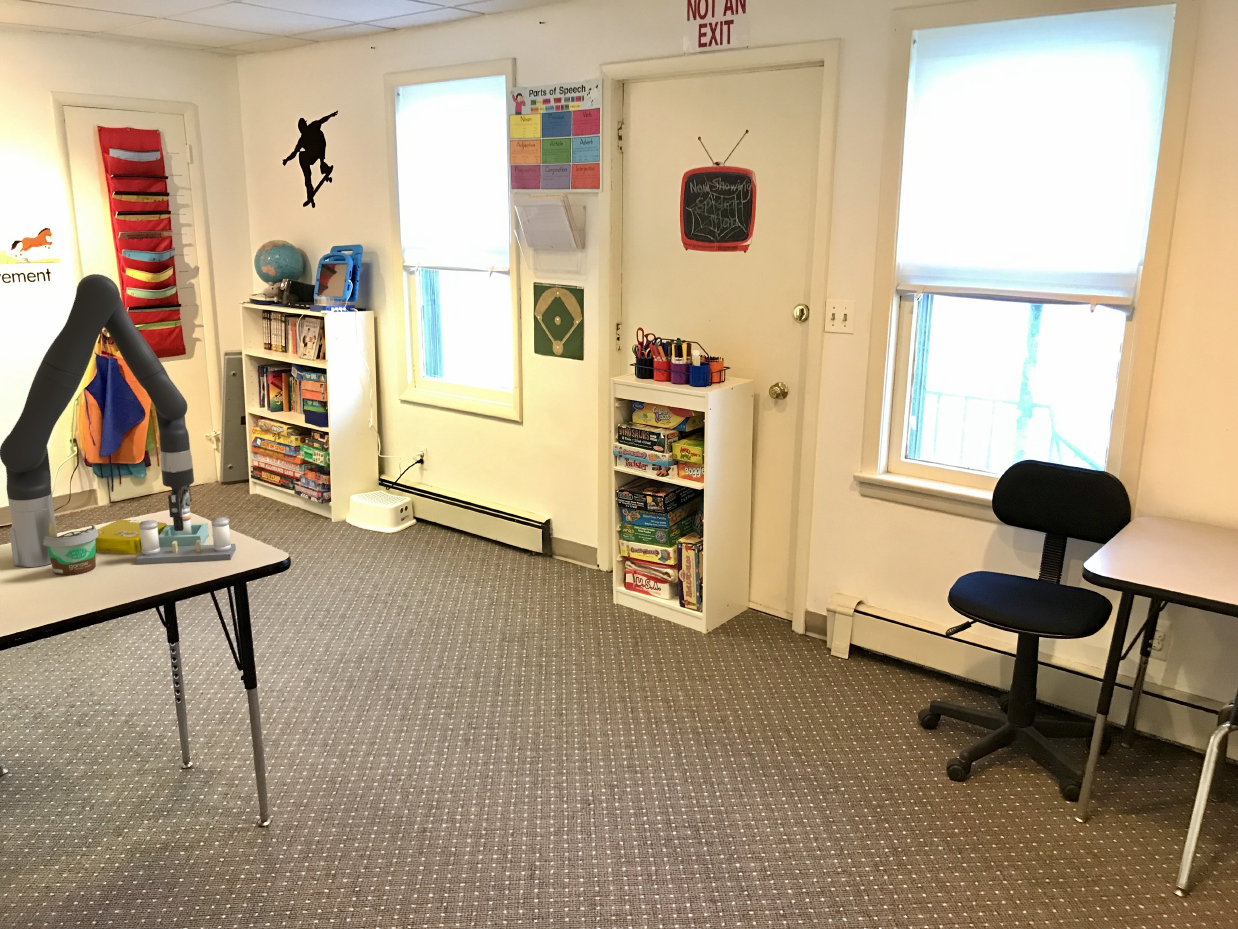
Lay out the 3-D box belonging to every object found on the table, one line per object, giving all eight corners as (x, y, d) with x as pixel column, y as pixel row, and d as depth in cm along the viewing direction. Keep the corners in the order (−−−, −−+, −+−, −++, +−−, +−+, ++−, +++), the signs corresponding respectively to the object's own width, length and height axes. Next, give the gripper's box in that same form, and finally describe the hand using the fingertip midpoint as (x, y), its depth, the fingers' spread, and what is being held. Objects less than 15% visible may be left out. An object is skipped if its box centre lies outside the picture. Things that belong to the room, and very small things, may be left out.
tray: (158, 550, 244) (157, 537, 243) (167, 537, 254) (166, 525, 253) (201, 548, 246) (200, 535, 245) (208, 535, 256) (207, 523, 255)
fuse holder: (137, 564, 234) (133, 528, 232) (145, 553, 242) (141, 518, 239) (230, 559, 239) (227, 524, 237) (235, 549, 247) (233, 514, 244)
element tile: (171, 537, 255) (169, 520, 254) (136, 556, 241) (134, 538, 240) (121, 533, 257) (119, 516, 256) (83, 551, 243) (81, 534, 242)
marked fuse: (174, 543, 247) (171, 510, 245) (177, 537, 251) (174, 505, 249) (190, 542, 248) (188, 510, 246) (193, 537, 252) (191, 505, 250)
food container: (60, 581, 222) (55, 542, 220) (47, 576, 225) (42, 536, 223) (112, 567, 232) (107, 528, 230) (98, 561, 235) (94, 523, 233)
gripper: (167, 460, 251) (173, 517, 255) (154, 474, 237) (161, 534, 241) (197, 459, 252) (203, 516, 256) (186, 473, 239) (192, 533, 243)
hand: (182, 525), depth 249 cm, fingers open, 8 cm apart
